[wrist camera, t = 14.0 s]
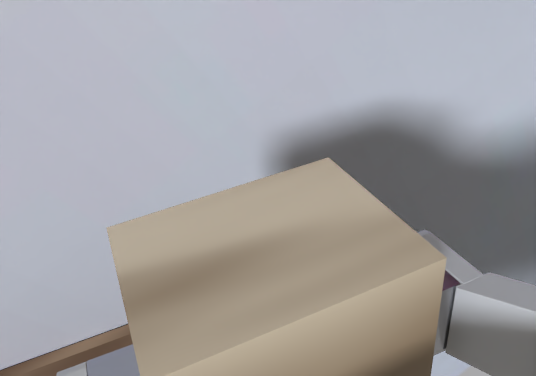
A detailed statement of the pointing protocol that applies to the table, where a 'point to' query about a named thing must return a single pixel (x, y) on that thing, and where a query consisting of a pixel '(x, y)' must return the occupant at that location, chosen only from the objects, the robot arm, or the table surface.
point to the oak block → (280, 282)
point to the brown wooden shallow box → (72, 354)
